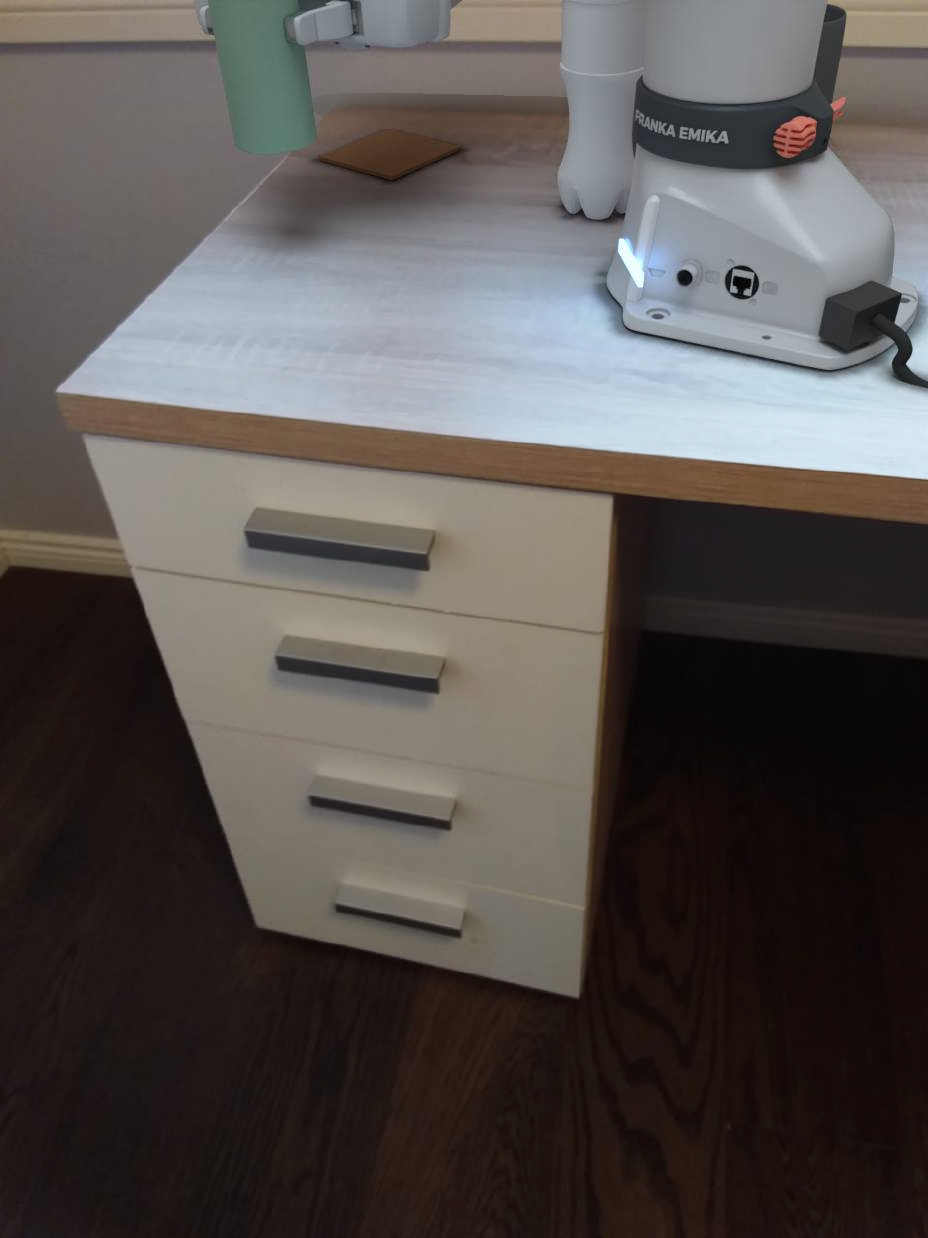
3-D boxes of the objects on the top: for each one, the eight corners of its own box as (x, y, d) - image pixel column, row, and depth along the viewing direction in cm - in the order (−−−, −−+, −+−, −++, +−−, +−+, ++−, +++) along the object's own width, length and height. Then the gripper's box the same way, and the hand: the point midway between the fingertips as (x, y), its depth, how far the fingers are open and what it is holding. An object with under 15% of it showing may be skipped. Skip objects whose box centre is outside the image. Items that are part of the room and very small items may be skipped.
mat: (460, 149, 101) (460, 145, 101) (392, 180, 96) (392, 175, 96) (387, 132, 106) (387, 128, 106) (319, 160, 101) (318, 156, 101)
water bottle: (638, 192, 91) (663, -156, 74) (640, 224, 86) (668, -143, 69) (557, 193, 92) (564, -152, 75) (555, 224, 87) (562, -139, 70)
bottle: (334, 135, 79) (304, -100, 69) (273, 160, 76) (232, -84, 66) (278, 121, 83) (242, -106, 72) (218, 144, 79) (170, -91, 69)
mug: (839, 151, 97) (867, 7, 88) (790, 180, 92) (815, 30, 84) (715, 125, 104) (731, -11, 95) (664, 150, 99) (676, 9, 91)
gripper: (249, -68, 84) (132, -33, 75) (463, -56, 76) (359, -15, 67) (263, 19, 88) (153, 61, 79) (467, 39, 80) (370, 89, 71)
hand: (250, 27), depth 73 cm, fingers closed on bottle, 6 cm apart
